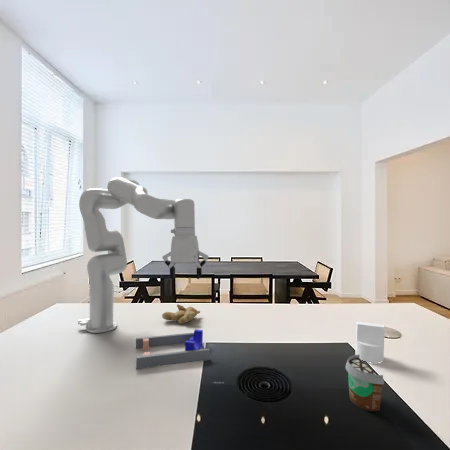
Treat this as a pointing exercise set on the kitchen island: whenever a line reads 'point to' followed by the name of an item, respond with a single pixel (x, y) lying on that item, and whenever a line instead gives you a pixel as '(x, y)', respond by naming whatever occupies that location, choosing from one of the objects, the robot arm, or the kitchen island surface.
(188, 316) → the ginger root
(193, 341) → the cable clip
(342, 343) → the kitchen island surface
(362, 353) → the cylinder with rectangular tab
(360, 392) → the food container
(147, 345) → the guide channel
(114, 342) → the kitchen island surface
